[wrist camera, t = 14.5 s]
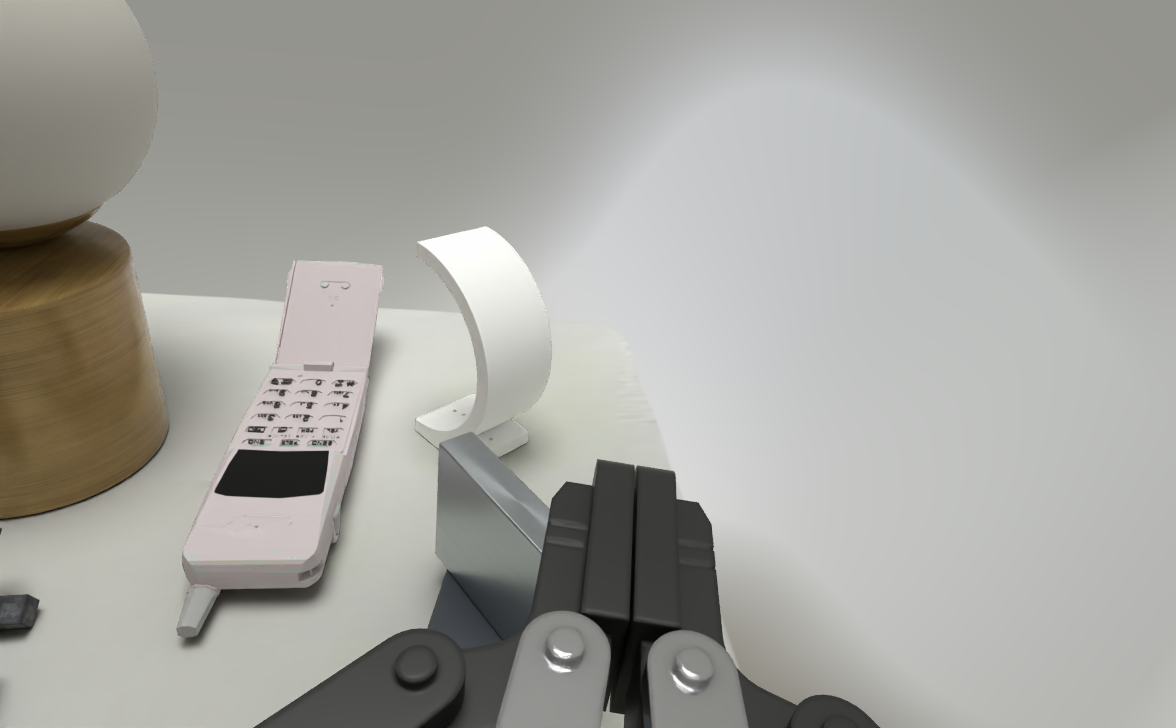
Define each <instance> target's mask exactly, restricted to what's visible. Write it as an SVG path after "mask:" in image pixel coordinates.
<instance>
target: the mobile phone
mask: <svg viewBox="0 0 1176 728" xmlns="http://www.w3.org/2000/svg"><path fill="white" fill-rule="evenodd" d="M382 267H383V265H372V264H364V263H363V264H362V263H355V262H338V261H297V260H293V265H292V270H289V273H288V277H287V283H286V285H287V287H288V288H287V293H286V300H285V305H284V311H283V317H282V323H281V329H280V335H279V341H278V347H277V353H276V359H275V364H273V363H272V364H271V365H270V369H269V373H268V375H267V376H266V378H265V380H264V382H263V384H262V385H261V387H260V389H259V391H258V392H257V394H256V396H255V398H254V400H253V401H252V403H251V405H250V407H249V408H248V410H247V412H246V414H245V416H244V417H243V419H242V421H241V423H240V425H239V427H238V429H237V431H236V433H235V435H234V437H233V439H232V441H231V443H230V445H229V447H228V449H227V452H226V453H225V454H224V456H223V459H222V461H221V463H220V465H219V467H218V469H217V471H216V474H215V476H214V478H213V480H212V482H211V484H210V486H209V489H208V491H207V493H206V495H205V497H204V500H203V502H202V504H201V507H200V509H199V512H198V514H197V516H196V519H195V521H194V524H193V526H192V529H191V531H190V533H189V536H188V538H187V541H186V543H185V545H184V548H183V556H182V566H183V568H184V571H185V574H186V577H187V579H188V581H189V582H190V583H191V585H190V587H189V589H188V591H187V594H188V595H187V598H186V600H185V603H184V606H183V610H182V613H181V616H180V619H179V622H178V625H177V632H178V635H179V636H182V637H193V636H197V635H198V633H199V631H200V629H201V627H202V625H203V623H204V621H205V619H206V617H207V616H208V614H209V612H210V610H211V608H212V606H213V604H214V602H215V599H216V597H218V596H219V593H220V591H221V589H258V588H307V587H308V586H310V585H312V584H314V583H315V582H317V581H318V579H319V578H320V577H321V575H322V572H323V568H324V565H325V561H326V558H327V554H328V551H329V547H330V544H331V543H335V542H336V541H337V540H338V536H339V531H340V505H341V502H342V498H343V494H344V490H345V488H346V486H347V483H348V479H349V476H350V473H351V469H352V464H353V460H354V455H355V451H356V447H357V442H358V438H359V433H360V429H361V424H362V419H363V415H364V410H365V405H366V395H367V390H368V384H369V377H368V371H369V364H370V358H371V351H372V345H373V339H374V332H375V326H376V319H377V311H378V303H379V296H380V292H381V291H382V290H383V283H384V276H383V275H382ZM381 277H382V280H381ZM380 287H381V288H380ZM279 347H280V350H279ZM278 352H279V355H278ZM277 357H278V361H277ZM276 362H277V364H276Z"/></svg>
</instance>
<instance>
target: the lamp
mask: <svg viewBox="0 0 1176 728" xmlns="http://www.w3.org/2000/svg"><path fill="white" fill-rule="evenodd" d="M157 93H158V92H157V82H156V74H155V70H154V65H153V61H152V57H151V54H150V51H149V48H148V45H147V42H146V40H145V38H144V35H143V33H142V31H141V28H140V26H139V24H138V22H137V21H136V19H135V17H134V15H133V13H132V11H131V10H130V8H129V6H128V5H127V3H126V2H125V0H0V519H2V518H12V517H19V516H25V515H31V514H36V513H41V512H45V511H49V510H53V509H56V508H60V507H63V506H66V505H70V504H72V503H75V502H78V501H81V500H83V499H86V498H88V497H91V496H93V495H96V494H98V493H100V492H102V491H104V490H106V489H108V488H110V487H112V486H114V485H116V484H117V483H119V482H121V481H122V480H124V479H126V478H127V477H129V476H130V475H132V474H133V473H134V472H136V471H137V470H138V469H140V468H141V467H142V466H143V465H144V464H146V463H147V462H148V461H149V460H150V459H151V458H152V457H153V455H154V454H155V453H156V452H157V451H158V449H159V448H160V446H161V445H162V443H163V441H164V439H165V437H166V434H167V430H168V425H169V419H168V413H167V409H166V404H165V400H164V395H163V391H162V387H161V382H160V378H159V373H158V369H157V364H156V360H155V355H154V351H153V346H152V342H151V337H150V333H149V328H148V324H147V320H146V315H145V311H144V306H143V302H142V297H141V293H140V288H139V284H138V279H137V276H136V270H135V266H134V261H133V257H132V253H131V249H130V246H129V244H128V243H127V241H126V240H125V239H124V238H123V237H122V236H121V235H120V234H118V233H117V232H115V231H114V230H112V229H109V228H107V227H105V226H102V225H100V224H97V223H93V222H90V221H87V220H88V219H89V218H90V217H92V216H93V214H95V213H96V212H97V211H98V210H99V209H100V207H101V206H102V205H103V204H104V203H105V202H106V201H108V200H109V199H111V198H112V197H114V196H115V195H116V194H118V193H119V192H120V191H121V190H122V189H123V188H124V187H125V186H126V184H127V183H128V182H129V181H130V180H131V179H132V177H133V176H134V175H135V173H136V172H137V170H138V169H139V167H140V166H141V164H142V162H143V160H144V158H145V156H146V154H147V152H148V149H149V147H150V144H151V141H152V138H153V134H154V130H155V126H156V121H157V110H158V94H157Z"/></svg>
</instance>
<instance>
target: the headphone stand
mask: <svg viewBox="0 0 1176 728" xmlns="http://www.w3.org/2000/svg"><path fill="white" fill-rule="evenodd" d="M417 257H418V258H419V259H421V260H422V261H423V262H425V263H426V264H427V265H428V266H429V267H431V268H432V269H433V270H434V271H435V273H436V274H437V275H438V276H439V277H440V278H441V280H442V281H443V282H444V283H445V285H446V286H447V288H448V289H449V291H450V292H451V294H452V295H453V297H454V299H455V301H456V302H457V304H458V306H459V308H460V310H461V313H462V315H463V317H464V320H465V322H466V325H467V327H468V330H469V333H470V336H471V340H472V344H473V348H474V353H475V358H476V366H477V392H476V393H473V394H471V395H469V396H466V397H464V398H462V399H460V400H457V401H455V402H453V403H450V404H448V405H446V406H443V407H441V408H439V409H437V410H434V411H432V412H430V413H427V414H425V415H423V416H420V417H418V418H416V419H415V430H416V431H417V432H418V433H419V434H421V435H422V436H423V437H424V438H426V439H427V440H428V441H429V442H430V443H432V444H433V445H434V446H435V447H437V448H438V449H439V443H441V442H443V441H446V440H449V439H452V438H454V437H457V436H460V435H463V434H466V433H468V432H473V433H474V434H475V435H476V436H477V437H478V438H479V439H480V440H481V441H482V442H483V443H484V444H485V445H486V446H487V447H488V448H489V449H490V450H491V451H492V452H493V453H494V454H495V455H496V456H497V457H498V458H499V457H501V456H503V455H504V454H506V453H508V452H510V451H512V450H514V449H516V448H518V447H519V446H521V445H523V444H525V443H527V442H528V435H529V431H528V430H526V429H525V428H524V427H522V426H521V425H519V424H518V423H517V422H515V421H514V420H512V419H511V418H513V417H515V416H517V415H519V414H521V413H523V412H525V411H527V410H528V409H530V408H531V407H532V406H533V405H534V404H535V403H536V402H537V401H538V400H539V398H540V397H541V395H542V393H543V392H544V389H545V387H546V385H547V382H548V378H549V374H550V369H551V360H552V342H551V332H550V326H549V321H548V317H547V312H546V309H545V306H544V302H543V299H542V297H541V294H540V292H539V289H538V287H537V285H536V283H535V280H534V278H533V277H532V275H531V273H530V271H529V269H528V268H527V266H526V265H525V263H524V262H523V260H522V259H521V257H520V256H519V255H518V254H517V252H516V251H515V250H514V249H513V248H512V246H511V245H510V244H509V243H508V242H507V241H506V240H504V239H503V238H502V237H501V236H500V235H499V234H497V233H496V232H495V231H493V230H492V229H490V228H488V227H481V228H477V229H473V230H468V231H464V232H460V233H455V234H450V235H446V236H442V237H437V238H433V239H428V240H424V241H419V242H417Z"/></svg>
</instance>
